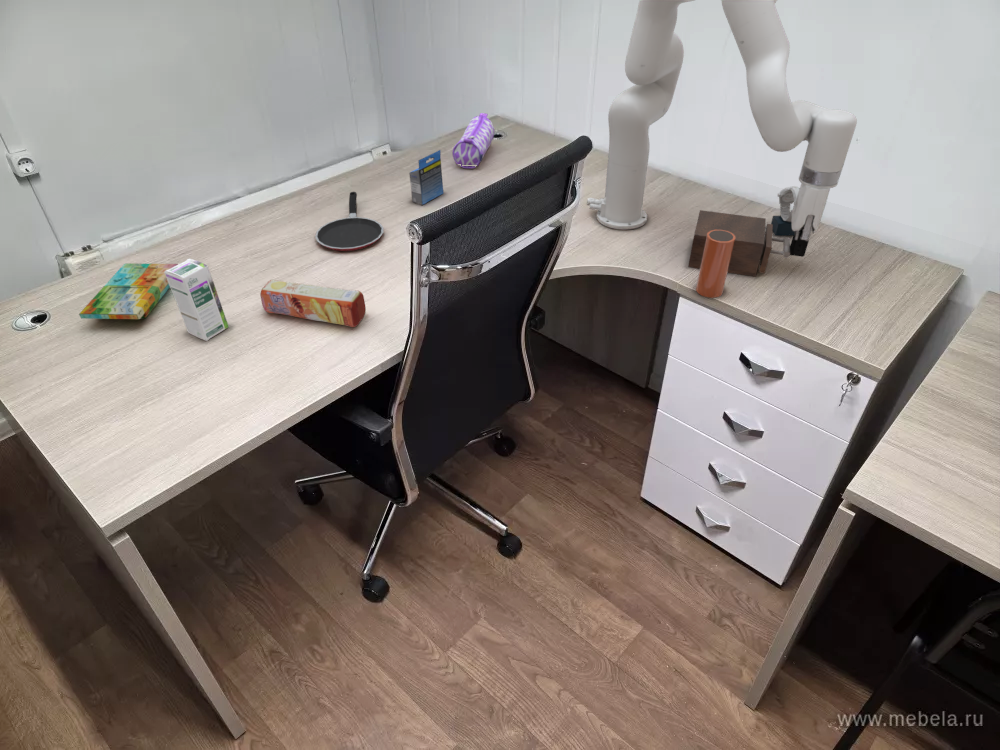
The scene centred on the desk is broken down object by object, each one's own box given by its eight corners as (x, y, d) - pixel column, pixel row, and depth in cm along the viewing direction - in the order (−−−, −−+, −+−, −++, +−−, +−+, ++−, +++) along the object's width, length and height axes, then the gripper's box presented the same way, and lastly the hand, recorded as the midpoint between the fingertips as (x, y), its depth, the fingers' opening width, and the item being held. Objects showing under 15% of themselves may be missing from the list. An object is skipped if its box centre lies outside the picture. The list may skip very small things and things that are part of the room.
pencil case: (482, 172, 196) (481, 139, 190) (451, 170, 197) (449, 137, 191) (495, 144, 212) (495, 113, 206) (466, 142, 214) (465, 112, 208)
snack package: (262, 316, 139) (254, 288, 135) (279, 299, 144) (272, 271, 140) (355, 332, 134) (350, 304, 130) (369, 314, 139) (365, 286, 135)
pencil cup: (694, 295, 144) (705, 240, 135) (697, 282, 148) (708, 227, 139) (721, 299, 142) (734, 244, 134) (723, 286, 146) (736, 231, 138)
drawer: (785, 251, 156) (792, 226, 152) (785, 276, 147) (792, 250, 143) (706, 240, 160) (711, 216, 156) (701, 264, 152) (706, 238, 148)
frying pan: (322, 204, 180) (319, 192, 178) (383, 200, 182) (382, 188, 180) (313, 256, 159) (311, 243, 156) (384, 250, 160) (382, 238, 158)
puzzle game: (176, 260, 148) (135, 310, 133) (183, 278, 151) (143, 330, 136) (124, 259, 149) (76, 310, 133) (132, 278, 152) (86, 329, 136)
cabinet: (757, 250, 158) (765, 218, 153) (755, 276, 149) (764, 244, 144) (693, 241, 162) (699, 210, 157) (688, 266, 153) (694, 234, 148)
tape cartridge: (433, 190, 186) (429, 146, 178) (444, 194, 184) (441, 149, 176) (411, 202, 181) (407, 157, 173) (422, 205, 179) (418, 160, 171)
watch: (789, 223, 168) (801, 181, 161) (800, 238, 162) (813, 195, 155) (767, 223, 168) (778, 181, 162) (777, 239, 162) (789, 195, 155)
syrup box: (206, 342, 133) (183, 278, 123) (186, 333, 135) (162, 269, 126) (229, 327, 136) (209, 264, 127) (209, 319, 139) (188, 256, 130)
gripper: (799, 158, 144) (778, 236, 156) (800, 186, 133) (777, 268, 145) (837, 162, 142) (813, 241, 154) (841, 191, 131) (815, 273, 143)
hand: (796, 254), depth 149 cm, fingers closed
